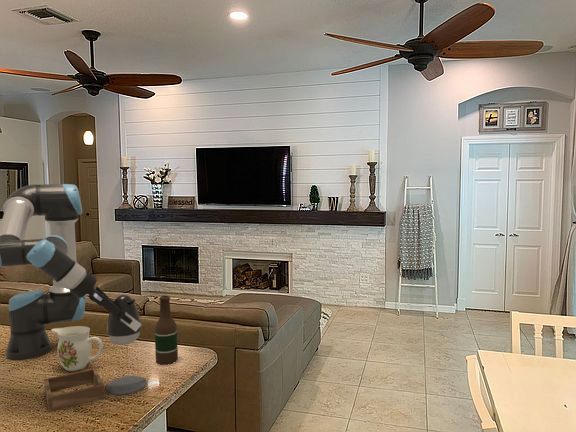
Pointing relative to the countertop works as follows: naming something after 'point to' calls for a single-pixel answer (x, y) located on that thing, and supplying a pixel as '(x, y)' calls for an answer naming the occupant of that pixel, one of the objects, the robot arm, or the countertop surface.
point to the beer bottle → (166, 335)
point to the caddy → (73, 396)
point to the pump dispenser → (118, 329)
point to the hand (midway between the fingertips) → (134, 323)
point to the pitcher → (75, 347)
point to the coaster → (126, 385)
